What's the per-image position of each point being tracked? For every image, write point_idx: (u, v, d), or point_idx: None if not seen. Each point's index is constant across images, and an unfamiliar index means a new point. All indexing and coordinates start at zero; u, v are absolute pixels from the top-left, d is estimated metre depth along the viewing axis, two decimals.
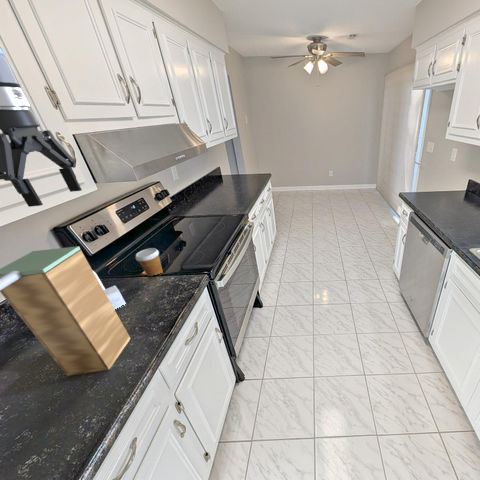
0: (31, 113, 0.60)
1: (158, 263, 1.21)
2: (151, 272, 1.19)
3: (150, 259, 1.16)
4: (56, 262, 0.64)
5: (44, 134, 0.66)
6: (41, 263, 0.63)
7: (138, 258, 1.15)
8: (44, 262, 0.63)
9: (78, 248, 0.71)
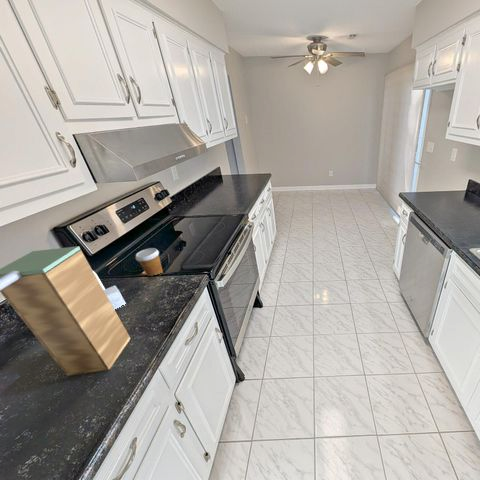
0: None
1: (158, 263, 1.21)
2: (151, 272, 1.19)
3: (150, 259, 1.16)
4: (56, 262, 0.64)
5: None
6: (41, 263, 0.63)
7: (138, 258, 1.15)
8: (44, 262, 0.63)
9: (78, 248, 0.71)
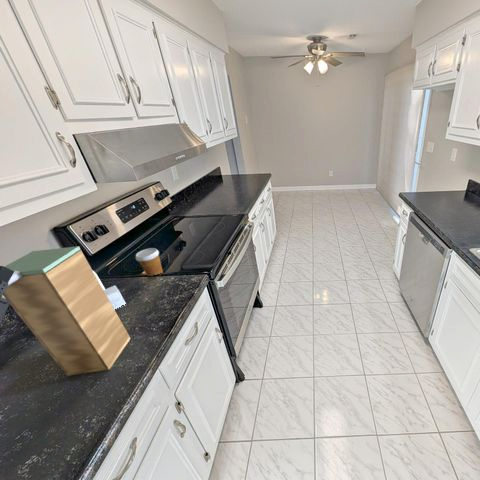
0: None
1: (158, 263, 1.21)
2: (151, 272, 1.19)
3: (150, 259, 1.16)
4: (56, 262, 0.64)
5: None
6: (41, 263, 0.63)
7: (138, 258, 1.15)
8: (44, 262, 0.63)
9: (78, 248, 0.71)
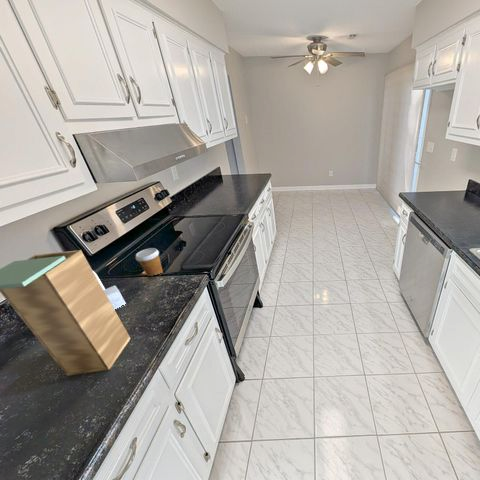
0: None
1: (158, 263, 1.21)
2: (151, 272, 1.19)
3: (150, 259, 1.16)
4: (38, 274, 0.59)
5: None
6: (21, 276, 0.58)
7: (138, 258, 1.15)
8: (24, 274, 0.59)
9: (63, 258, 0.66)
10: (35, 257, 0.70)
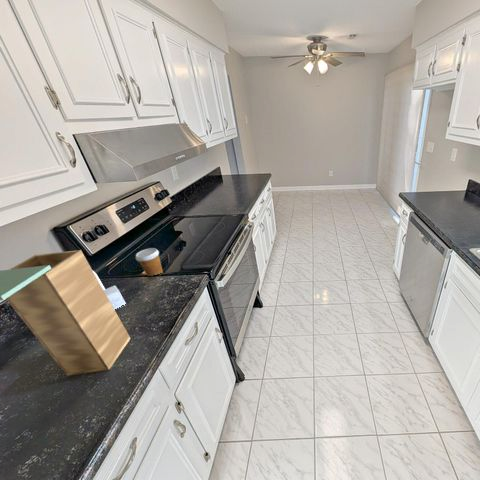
0: None
1: (158, 263, 1.21)
2: (151, 272, 1.19)
3: (150, 259, 1.16)
4: (19, 286, 0.55)
5: None
6: (1, 288, 0.54)
7: (138, 258, 1.15)
8: (5, 286, 0.54)
9: (48, 267, 0.62)
10: (35, 257, 0.70)
